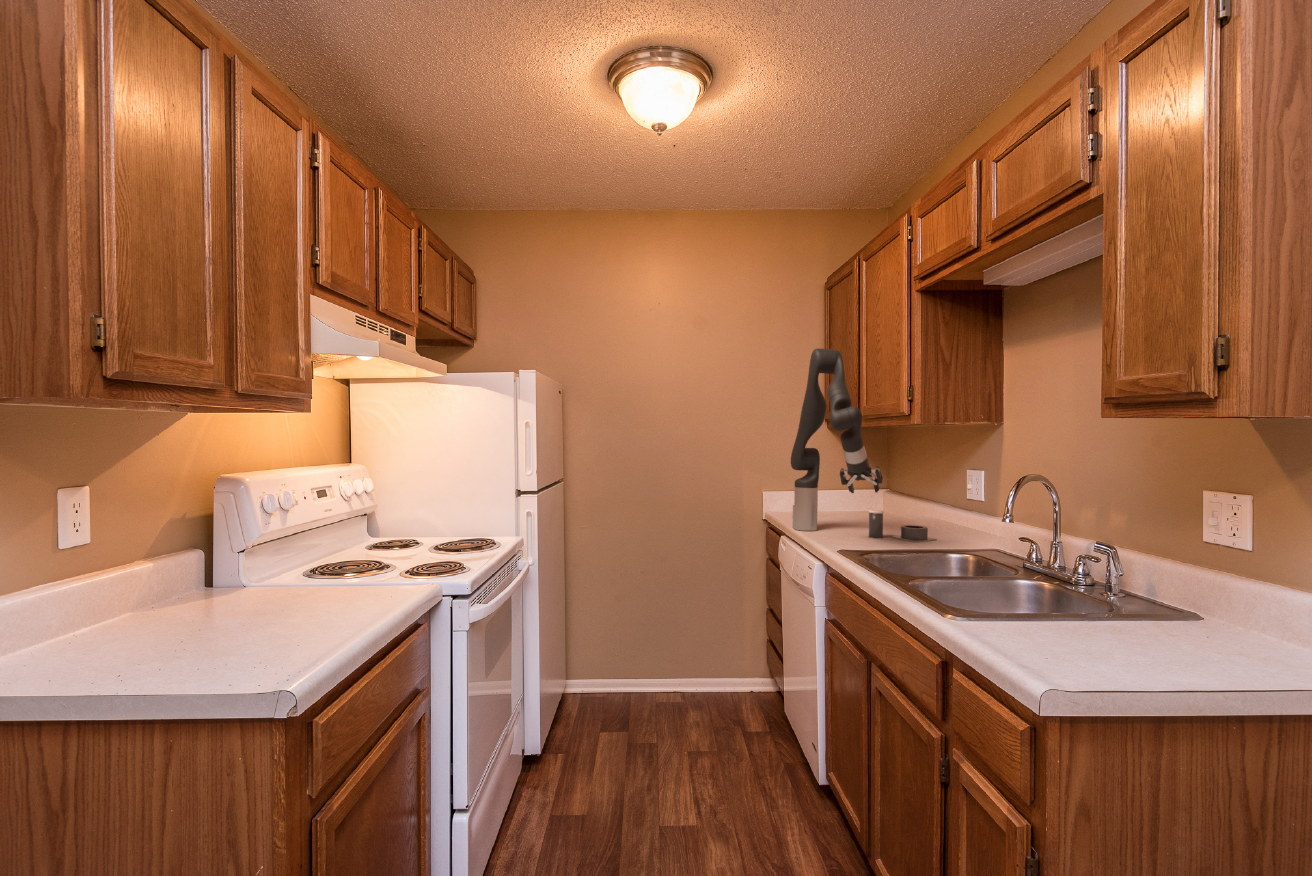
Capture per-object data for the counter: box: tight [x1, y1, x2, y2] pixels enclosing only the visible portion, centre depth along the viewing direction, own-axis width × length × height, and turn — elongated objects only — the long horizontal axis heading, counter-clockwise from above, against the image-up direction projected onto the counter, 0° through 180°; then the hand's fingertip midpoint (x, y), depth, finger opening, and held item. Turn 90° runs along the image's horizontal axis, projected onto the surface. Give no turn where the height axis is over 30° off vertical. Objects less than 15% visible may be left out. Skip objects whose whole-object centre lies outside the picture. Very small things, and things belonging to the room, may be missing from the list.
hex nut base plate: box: [891, 524, 938, 543], centre depth 233 cm, size 11×11×4 cm
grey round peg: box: [868, 509, 884, 539], centre depth 236 cm, size 5×5×10 cm
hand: (864, 491), depth 229 cm, fingers open, 8 cm apart
